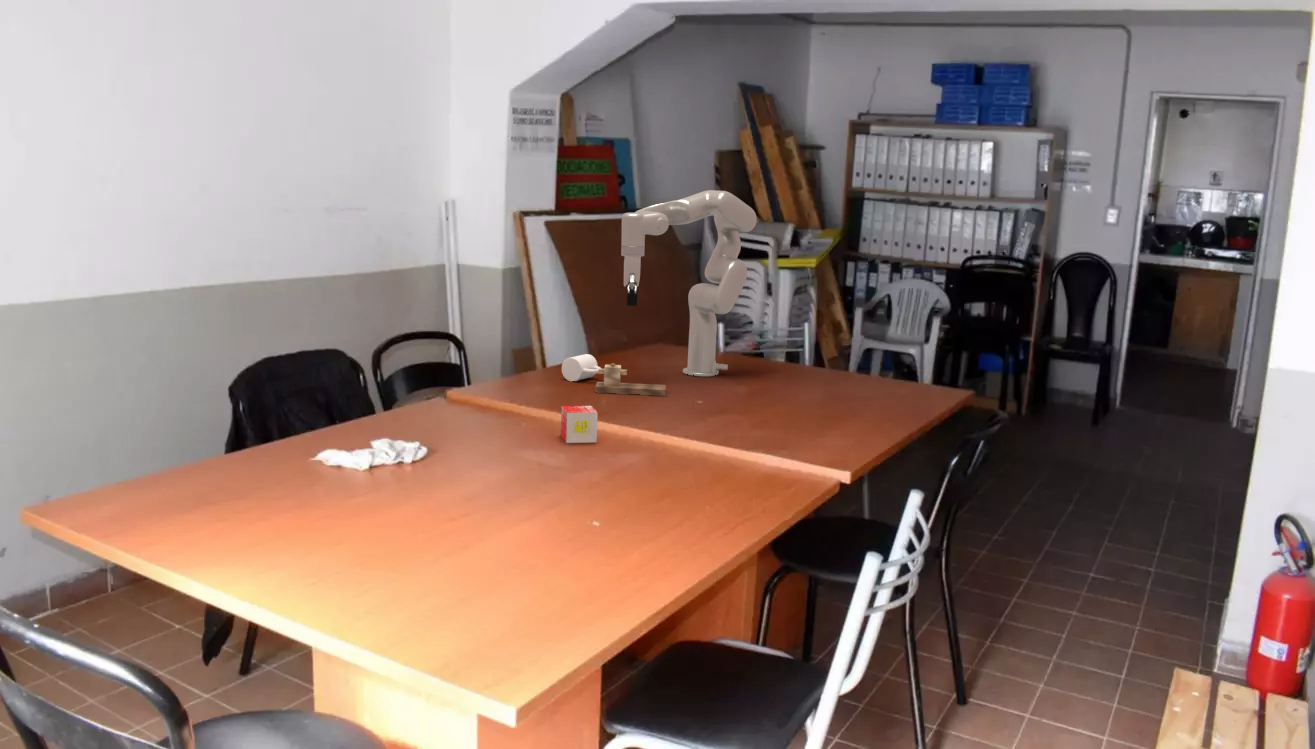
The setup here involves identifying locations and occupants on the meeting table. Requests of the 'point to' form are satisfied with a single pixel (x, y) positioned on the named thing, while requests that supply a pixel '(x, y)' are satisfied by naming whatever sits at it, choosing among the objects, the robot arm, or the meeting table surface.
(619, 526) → the meeting table surface
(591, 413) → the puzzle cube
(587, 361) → the mug
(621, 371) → the beige block with peg
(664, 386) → the board
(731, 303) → the robot arm
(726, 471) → the meeting table surface
